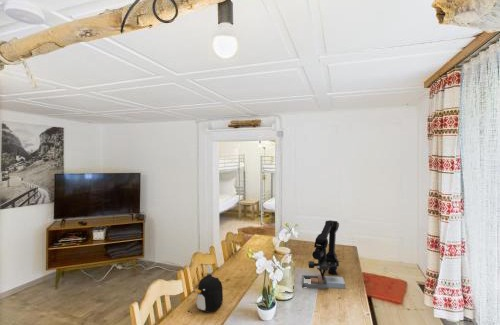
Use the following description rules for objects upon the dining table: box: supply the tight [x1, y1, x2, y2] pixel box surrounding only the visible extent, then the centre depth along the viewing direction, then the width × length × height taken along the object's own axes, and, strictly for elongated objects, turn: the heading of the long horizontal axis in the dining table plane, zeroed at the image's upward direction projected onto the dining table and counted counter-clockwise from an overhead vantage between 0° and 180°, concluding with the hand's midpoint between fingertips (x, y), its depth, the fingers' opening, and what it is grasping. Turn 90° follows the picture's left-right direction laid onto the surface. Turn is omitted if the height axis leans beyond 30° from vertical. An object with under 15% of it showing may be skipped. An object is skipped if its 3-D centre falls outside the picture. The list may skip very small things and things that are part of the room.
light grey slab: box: [324, 275, 346, 290], centre depth 175 cm, size 10×12×4 cm
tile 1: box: [311, 278, 318, 284], centre depth 178 cm, size 5×5×2 cm
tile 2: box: [317, 274, 322, 284], centre depth 178 cm, size 5×5×2 cm
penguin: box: [195, 274, 224, 312], centre depth 153 cm, size 18×18×17 cm
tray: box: [301, 274, 328, 290], centre depth 178 cm, size 14×16×2 cm
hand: (322, 277), depth 177 cm, fingers closed
